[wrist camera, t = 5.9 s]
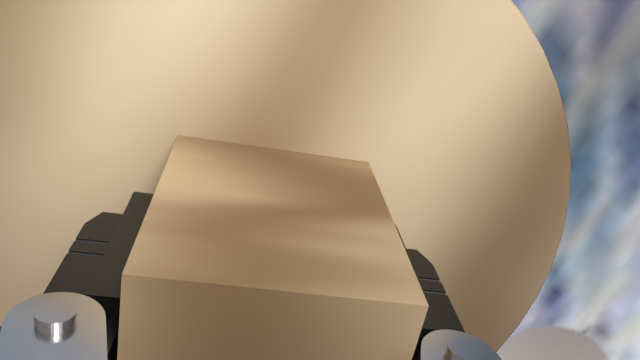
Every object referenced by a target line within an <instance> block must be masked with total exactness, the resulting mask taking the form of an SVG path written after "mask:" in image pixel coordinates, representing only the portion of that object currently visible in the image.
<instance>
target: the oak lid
mask: <svg viewBox="0 0 640 360" xmlns="http://www.w3.org/2000/svg"><path fill="white" fill-rule="evenodd" d="M570 173H571V156H570V145H569V135H568V124H567V120H566V116H565V112H564V108H563V104H562V100H561V96H560V92H559V88H558V85H557V82H556V80H555V77H554V75H553V73H552V70H551V68H550V65H549V63H548V60H547V58H546V56H545V53H544V51H543V48H542V47H541V45H540V43H539V42H538V40H537V38H536V37H535V35H534V33H533V32H532V30H531V28H530V27H529V25H528V23H527V22H526V20H525V18H524V17H523V15H522V13H521V12H520V11H519V9H518V8H517V7H516V6H515V5H514V3H513V2H512V1H511V0H0V326H2V322H3V319H4V317H5V316H6V314H7V313H8V312H9V311H10V310H11V309H12V308H13V307H14V306H16V305H17V304H19V303H20V302H22V301H24V300H26V299H29V298H31V297H34V296H37V295H41V294H43V293H44V291H45V290H46V288H47V286H48V285H49V283H50V281H51V279H52V278H53V276H54V274H55V273H56V271H57V269H58V268H59V266H60V264H61V262H62V261H63V259H64V257H65V256H66V254H68V252H69V249H70V247H71V246H72V244H73V242H74V241H76V237H77V235H78V234H79V232H80V230H81V229H82V227H83V225H84V223H86V222H87V221H89V220H91V219H92V218H94V217H95V216H97V215H99V214H100V213H102V212H109V213H118V214H123V213H124V211H125V209H126V207H127V205H128V202H129V200H130V198H131V196H132V194H133V192H143V193H151V194H154V195H153V198H152V200H151V203H150V205H149V208H148V210H147V213H146V215H145V218H144V220H143V223H142V225H141V228H140V230H139V233H138V235H137V238H136V240H135V243H134V245H133V248H132V250H131V253H130V255H129V258H128V260H127V262H126V265H125V267H124V270H123V272H122V279H121V297H120V315H119V332H118V350H117V360H412V357H413V354H414V351H415V348H416V345H417V342H418V339H419V335H420V332H421V329H422V326H423V323H424V320H425V317H426V313H427V310H428V307H429V305H428V303H427V301H426V298H425V296H424V293H423V291H422V289H421V286H420V284H419V281H418V279H417V277H416V274H415V272H414V270H413V267H412V265H411V262H410V260H409V258H408V255H407V253H406V250H405V248H404V246H403V243H402V241H401V238H400V236H399V234H398V231H397V229H396V226H397V228H398V230H399V233H400V235H401V237H402V240H403V242H404V245H405V247H406V248H407V249H415V250H418V251H419V252H420V253H421V254H422V255H423V256H424V257H425V258H427V259H428V260H429V261H430V262H431V263H432V264H433V266H434V268H435V270H436V272H437V274H438V276H439V279H440V282H441V283H442V285H443V287H444V289H445V291H446V295H448V297H449V299H450V302H451V304H452V306H453V308H454V310H455V312H456V314H457V316H458V318H459V320H460V322H461V325H462V327H463V329H464V331H465V333H467V334H469V335H472V336H474V337H476V338H478V339H480V340H481V341H483V342H484V343H486V344H487V345H489V346H490V347H491V348H492V349H493V350H494V351H495V352H497V351H498V350H499V348H500V347H501V346H502V345H503V344H504V342H505V341H506V340H507V339H508V338H509V336H510V335H511V334H512V333H513V332H514V330H515V329H516V328H517V327H518V325H519V324H520V322H521V321H522V319H523V318H524V316H525V315H526V313H527V311H528V310H529V308H530V307H531V305H532V304H533V302H534V301H535V299H536V298H537V296H538V293H539V291H540V289H541V287H542V285H543V283H544V281H545V279H546V277H547V275H548V273H549V271H550V269H551V267H552V264H553V261H554V258H555V255H556V252H557V249H558V246H559V243H560V240H561V237H562V234H563V229H564V223H565V218H566V213H567V208H568V202H569V194H570ZM395 225H396V226H395Z"/></svg>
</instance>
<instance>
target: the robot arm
mask: <svg viewBox="0 0 640 360" xmlns="http://www.w3.org/2000/svg"><path fill="white" fill-rule="evenodd" d="M153 195H154V194H151V193H143V192H133V194H132V196H131V198H130V200H129V202H128V205H127V207H126V209H125V211H124V213H123V214H118V213H109V212H102V213H100V214H99V215H97V216H95V217H94V218H92V219H91V220H89V221H87V222H86V223H84V225H83V227H82V229H81V230H80V232H79V234H78V235H77V237H76V241H74V242H73V244H72V246H71V247H70V249H69V252H68V254H66V256H65V257H64V259H63V261H62V262H61V264H60V266H59V268H58V269H57V271H56V273H55V274H54V276H53V278H52V279H51V281H50V283H49V285H48V286H47V288H46V290H45V291H44V293H43V294H41V295H37V296H34V297H31V298H29V299H26V300H24V301H22V302H20V303H19V304H17V305H16V306H14V307H13V308H12V309H11V310H10V311H9V312H8V313H7V314H6V316H5V317H4V319H3V322H2V326H0V360H117V350H118V332H119V315H120V297H121V279H122V272H123V270H124V267H125V265H126V262H127V260H128V258H129V255H130V253H131V250H132V248H133V245H134V243H135V240H136V238H137V235H138V233H139V230H140V228H141V225H142V223H143V220H144V218H145V215H146V213H147V210H148V208H149V205H150V203H151V200H152V198H153ZM395 226H396V225H395ZM396 229H397V231H398V234H399V236H400V238H401V241H402V243H403V246H404V248H405V250H406V253H407V255H408V258H409V260H410V262H411V265H412V267H413V270H414V272H415V274H416V277H417V279H418V281H419V284H420V286H421V289H422V291H423V293H424V296H425V298H426V301H427V303H428V305H429V307H428V310H427V313H426V317H425V320H424V323H423V326H422V329H421V332H420V335H419V339H418V342H417V345H416V348H415V351H414V354H413V357H412V360H501V358H500V357H499V356H498V354H497V353H496V352H495V351H494V350H493V349H492V348H491V347H490V346H489V345H487V344H486V343H484V342H483V341H481V340H480V339H478V338H476V337H474V336H472V335H469V334H467V333H465V331H464V329H463V327H462V325H461V322H460V320H459V318H458V316H457V314H456V312H455V310H454V308H453V306H452V304H451V302H450V299H449V297H448V295H446V291H445V289H444V287H443V285H442V283H441V282H440V279H439V276H438V274H437V272H436V270H435V268H434V266H433V264H432V263H431V262H430V261H429V260H428V259H427V258H425V257H424V256H423V255H422V254H421V253H420V252H419V251H418V250H415V249H407V248H406V247H405V245H404V242H403V240H402V237H401V235H400V233H399V230H398V228H397V226H396Z"/></svg>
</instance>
